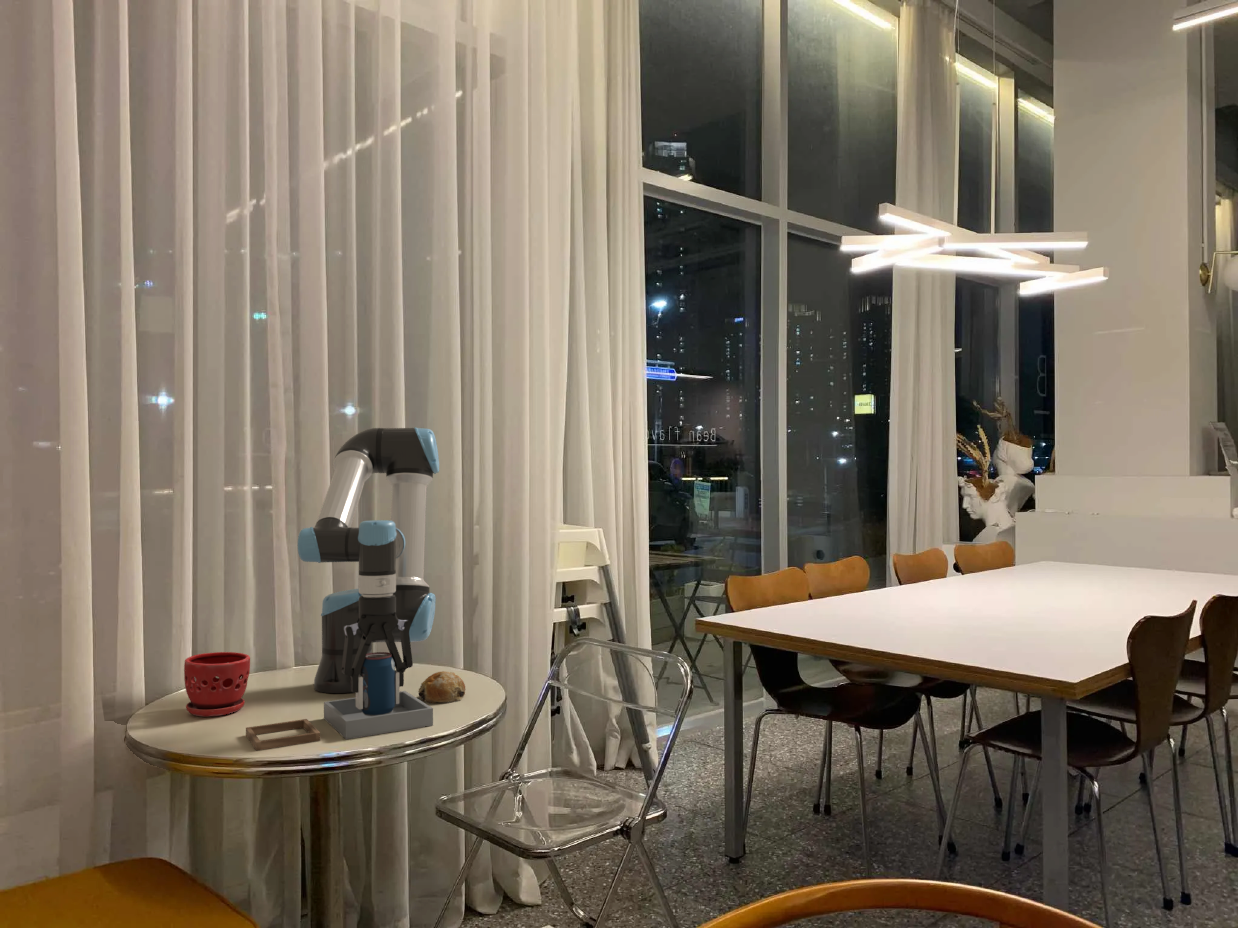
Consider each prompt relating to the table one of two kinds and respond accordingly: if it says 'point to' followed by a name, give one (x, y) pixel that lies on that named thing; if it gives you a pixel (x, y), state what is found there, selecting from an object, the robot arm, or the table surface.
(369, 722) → the grey bin
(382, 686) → the soda can
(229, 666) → the plant pot
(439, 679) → the bread roll
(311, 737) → the walnut frame
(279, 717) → the table surface
